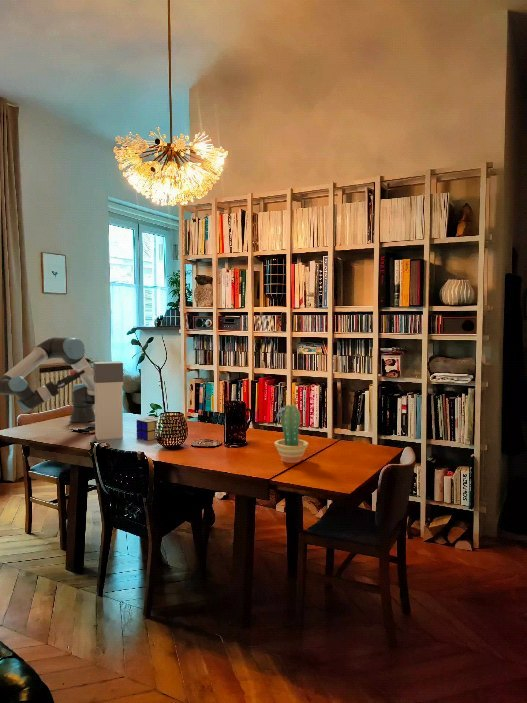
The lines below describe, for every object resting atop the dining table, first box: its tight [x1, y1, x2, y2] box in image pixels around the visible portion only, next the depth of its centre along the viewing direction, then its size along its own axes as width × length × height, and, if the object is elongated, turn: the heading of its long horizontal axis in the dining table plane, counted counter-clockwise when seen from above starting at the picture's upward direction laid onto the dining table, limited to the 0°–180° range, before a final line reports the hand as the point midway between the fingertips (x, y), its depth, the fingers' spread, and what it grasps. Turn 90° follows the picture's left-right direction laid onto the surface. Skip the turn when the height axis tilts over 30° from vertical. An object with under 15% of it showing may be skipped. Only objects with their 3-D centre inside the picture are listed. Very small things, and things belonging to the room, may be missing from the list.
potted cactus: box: [274, 404, 309, 464], centre depth 243 cm, size 15×15×25 cm
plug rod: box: [69, 368, 95, 376], centre depth 285 cm, size 25×3×3 cm, turn 112°
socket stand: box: [92, 360, 124, 441], centre depth 288 cm, size 14×14×40 cm
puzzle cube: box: [136, 417, 159, 442], centre depth 286 cm, size 10×10×10 cm
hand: (89, 367), depth 283 cm, fingers closed on plug rod, 3 cm apart
